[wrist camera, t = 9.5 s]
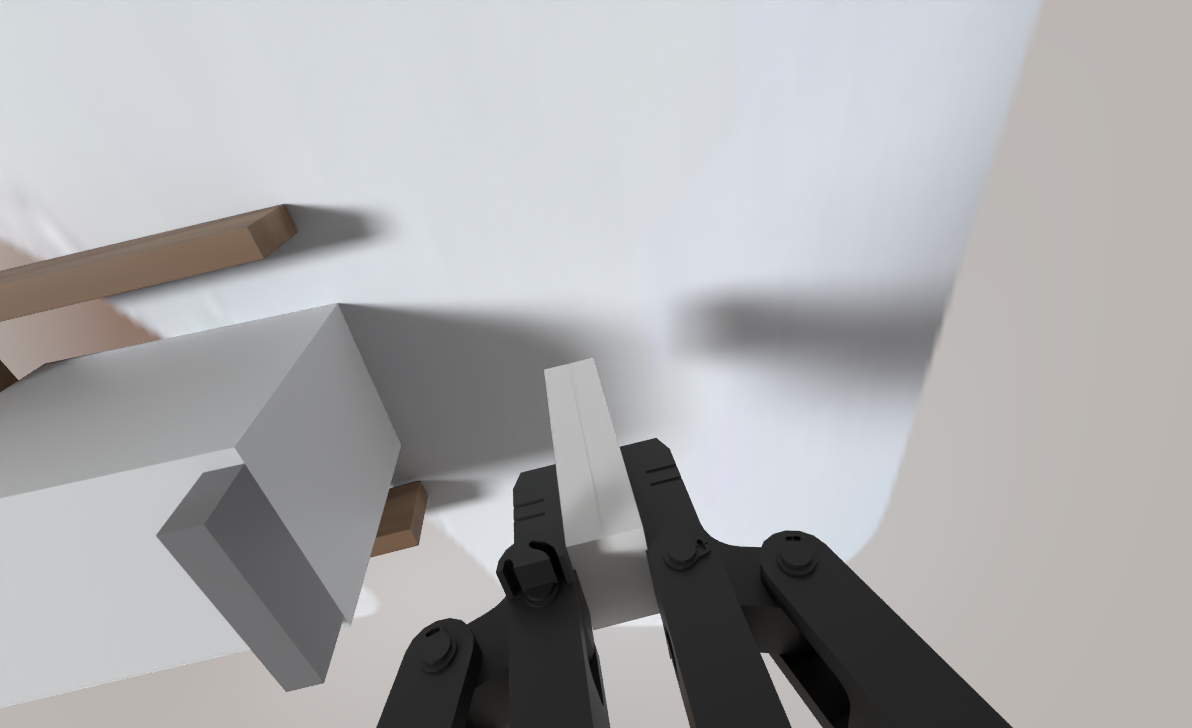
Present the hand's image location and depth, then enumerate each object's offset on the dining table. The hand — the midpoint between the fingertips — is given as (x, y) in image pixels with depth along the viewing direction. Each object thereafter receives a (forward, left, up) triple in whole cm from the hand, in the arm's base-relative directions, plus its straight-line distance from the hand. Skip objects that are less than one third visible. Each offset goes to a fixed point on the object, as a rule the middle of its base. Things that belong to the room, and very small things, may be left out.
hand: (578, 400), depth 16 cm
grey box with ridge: (+1, -14, -7) cm, 15 cm away
